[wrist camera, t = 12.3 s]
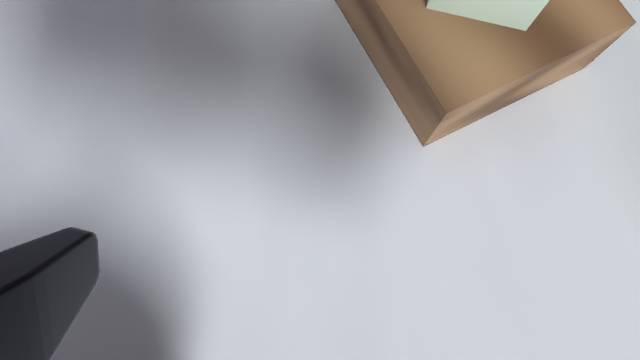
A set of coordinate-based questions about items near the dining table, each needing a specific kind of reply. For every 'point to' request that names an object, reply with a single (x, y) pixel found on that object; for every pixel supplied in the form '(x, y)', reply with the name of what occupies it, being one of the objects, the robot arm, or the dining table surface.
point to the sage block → (493, 10)
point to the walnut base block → (476, 55)
